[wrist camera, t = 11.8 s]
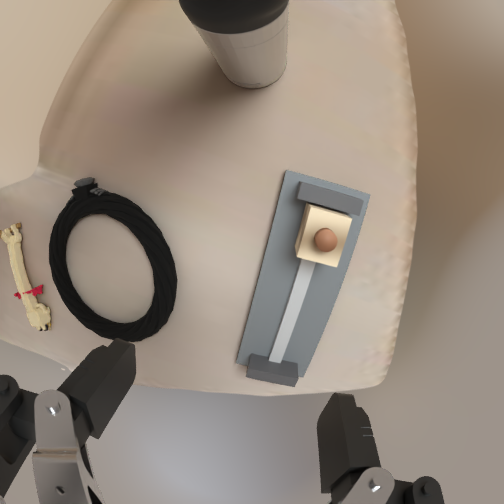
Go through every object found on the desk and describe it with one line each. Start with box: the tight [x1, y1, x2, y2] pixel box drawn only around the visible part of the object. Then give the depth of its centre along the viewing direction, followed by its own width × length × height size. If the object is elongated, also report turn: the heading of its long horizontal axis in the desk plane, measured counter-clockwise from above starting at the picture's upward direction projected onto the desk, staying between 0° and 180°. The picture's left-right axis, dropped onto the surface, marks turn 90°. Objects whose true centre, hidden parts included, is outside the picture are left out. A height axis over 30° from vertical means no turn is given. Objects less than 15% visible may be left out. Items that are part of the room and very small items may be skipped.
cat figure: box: [0, 223, 51, 331], centre depth 44 cm, size 10×9×25 cm
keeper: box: [295, 202, 352, 267], centre depth 33 cm, size 6×5×7 cm
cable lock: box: [49, 177, 177, 342], centre depth 42 cm, size 28×4×30 cm
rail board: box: [236, 170, 370, 387], centre depth 39 cm, size 32×12×6 cm, turn 167°
